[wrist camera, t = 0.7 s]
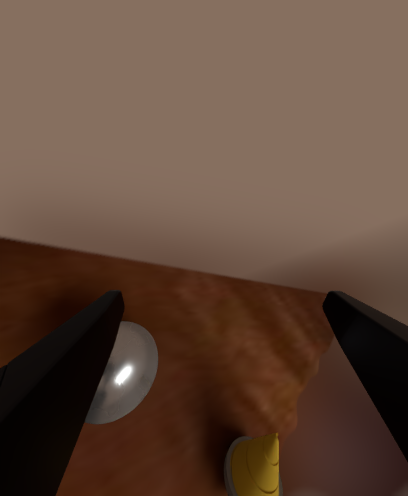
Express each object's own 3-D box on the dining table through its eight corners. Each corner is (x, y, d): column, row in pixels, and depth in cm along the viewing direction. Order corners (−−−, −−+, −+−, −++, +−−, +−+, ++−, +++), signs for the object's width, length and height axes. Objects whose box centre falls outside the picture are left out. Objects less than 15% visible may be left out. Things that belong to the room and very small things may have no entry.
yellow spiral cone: (207, 510, 17) (239, 448, 14) (225, 444, 22) (252, 386, 18) (265, 564, 15) (316, 506, 12) (270, 478, 20) (308, 421, 17)
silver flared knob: (121, 407, 16) (132, 434, 12) (49, 387, 14) (35, 410, 10) (153, 336, 19) (170, 338, 15) (98, 312, 17) (101, 308, 14)
